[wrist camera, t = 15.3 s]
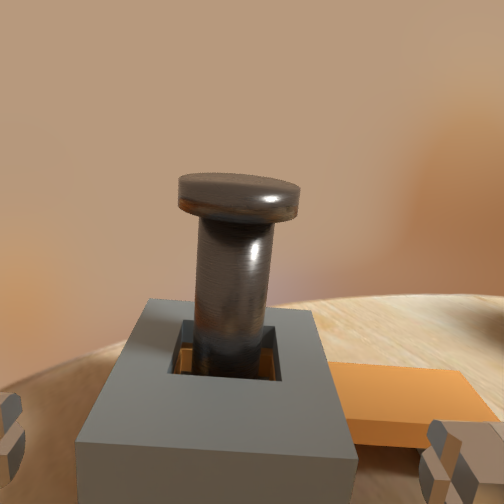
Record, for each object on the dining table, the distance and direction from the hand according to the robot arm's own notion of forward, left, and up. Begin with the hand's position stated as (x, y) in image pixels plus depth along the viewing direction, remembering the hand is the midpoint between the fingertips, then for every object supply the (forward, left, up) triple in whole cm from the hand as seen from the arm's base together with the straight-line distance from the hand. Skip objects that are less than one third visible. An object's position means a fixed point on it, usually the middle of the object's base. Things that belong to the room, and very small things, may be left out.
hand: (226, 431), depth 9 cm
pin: (0, -13, -11) cm, 17 cm away
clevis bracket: (-4, -12, -11) cm, 17 cm away
